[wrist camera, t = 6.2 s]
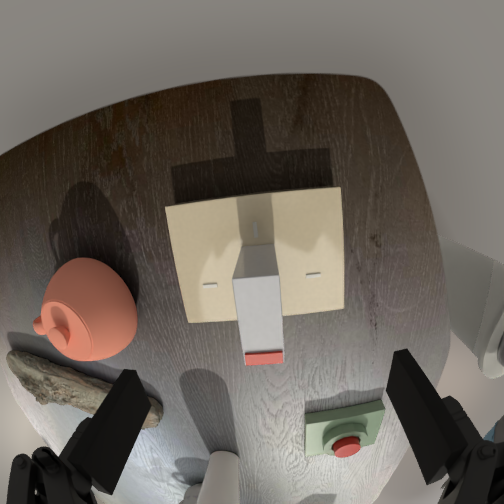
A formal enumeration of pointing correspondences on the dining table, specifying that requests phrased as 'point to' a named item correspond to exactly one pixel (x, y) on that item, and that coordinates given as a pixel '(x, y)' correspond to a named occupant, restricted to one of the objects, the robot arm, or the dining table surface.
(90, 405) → the long grey stone
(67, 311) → the sugar bowl
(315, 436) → the button box
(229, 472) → the drinking glass
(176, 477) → the dining table surface
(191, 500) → the teacup
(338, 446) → the button
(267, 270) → the tap handle
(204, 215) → the base
